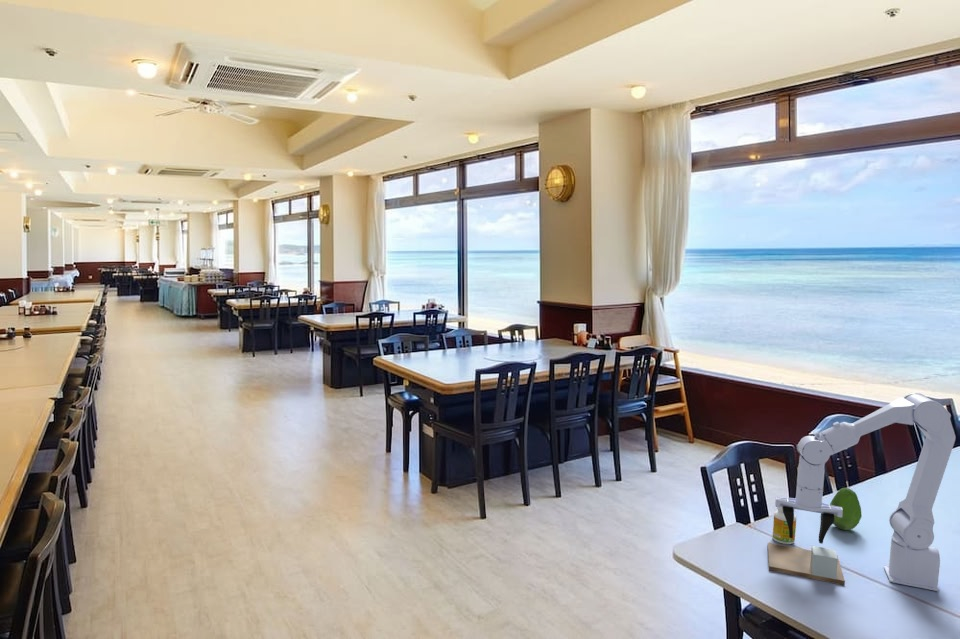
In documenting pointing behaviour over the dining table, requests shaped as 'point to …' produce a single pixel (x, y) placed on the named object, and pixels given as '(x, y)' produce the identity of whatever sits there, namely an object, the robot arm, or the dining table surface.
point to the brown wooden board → (797, 563)
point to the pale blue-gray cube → (823, 562)
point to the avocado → (847, 509)
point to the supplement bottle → (782, 528)
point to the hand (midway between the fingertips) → (805, 539)
